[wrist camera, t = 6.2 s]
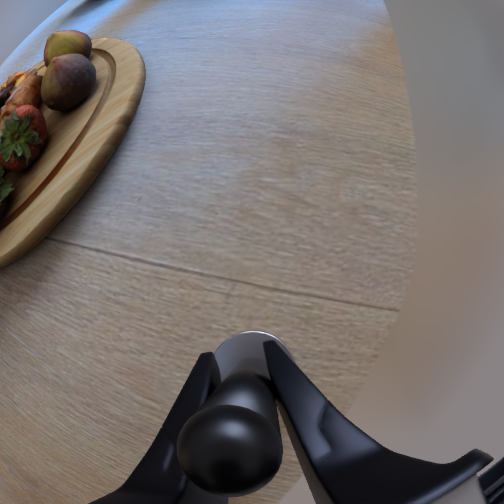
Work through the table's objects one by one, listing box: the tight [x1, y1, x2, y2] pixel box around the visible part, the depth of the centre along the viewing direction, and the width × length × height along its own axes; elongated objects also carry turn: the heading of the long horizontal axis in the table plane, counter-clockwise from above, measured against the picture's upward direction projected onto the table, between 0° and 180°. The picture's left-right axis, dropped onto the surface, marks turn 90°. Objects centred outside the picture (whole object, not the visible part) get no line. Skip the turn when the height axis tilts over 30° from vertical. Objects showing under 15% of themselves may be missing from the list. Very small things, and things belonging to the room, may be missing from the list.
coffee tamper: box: [177, 331, 295, 497], centre depth 9 cm, size 4×4×13 cm
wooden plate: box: [0, 30, 146, 269], centre depth 19 cm, size 32×32×8 cm
